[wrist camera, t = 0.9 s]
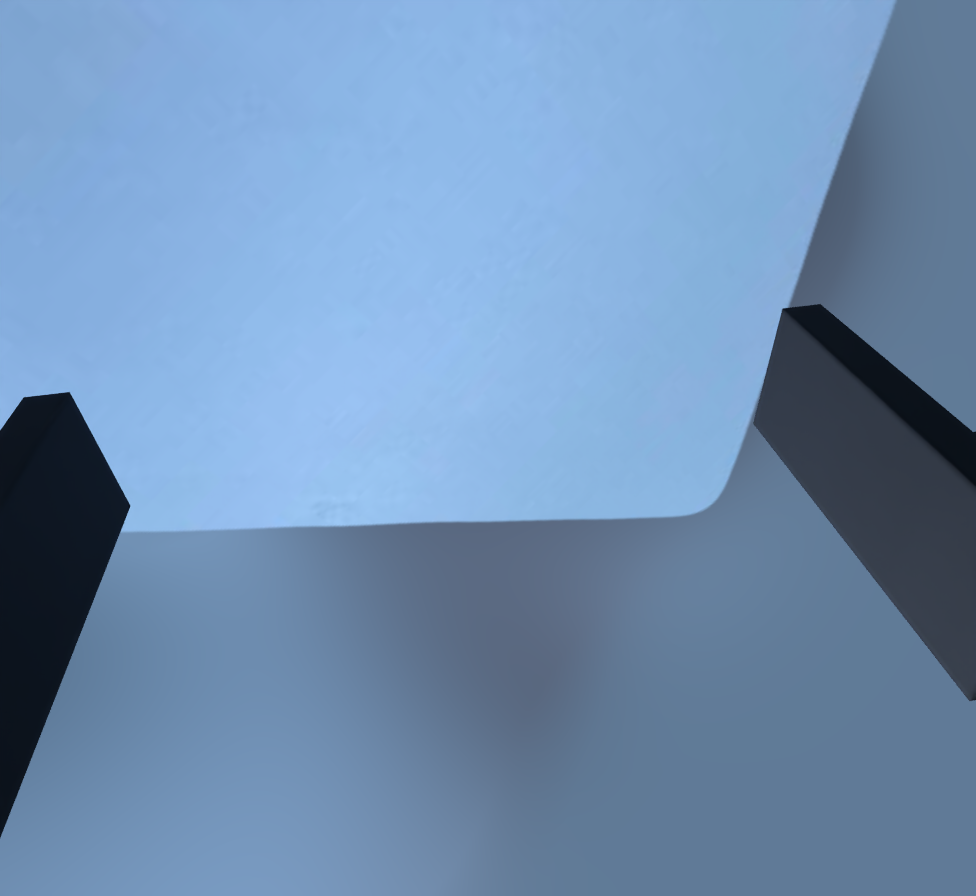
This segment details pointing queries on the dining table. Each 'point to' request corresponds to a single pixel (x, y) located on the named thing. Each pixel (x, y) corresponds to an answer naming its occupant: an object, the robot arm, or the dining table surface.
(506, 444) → the dining table surface
